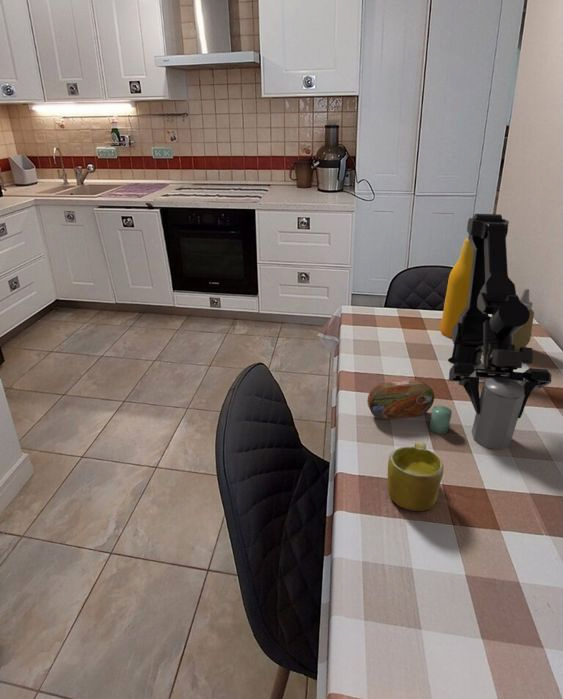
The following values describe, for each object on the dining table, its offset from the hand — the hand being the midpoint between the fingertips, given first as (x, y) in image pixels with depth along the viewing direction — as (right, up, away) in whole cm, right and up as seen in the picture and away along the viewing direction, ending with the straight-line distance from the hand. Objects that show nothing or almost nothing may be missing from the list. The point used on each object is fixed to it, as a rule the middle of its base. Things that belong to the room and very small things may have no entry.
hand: (498, 416), depth 96 cm
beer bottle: (+9, +18, +49) cm, 54 cm away
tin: (-17, -2, +12) cm, 21 cm away
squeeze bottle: (+23, +14, +41) cm, 48 cm away
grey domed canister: (0, -5, +4) cm, 7 cm away
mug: (-20, -13, -9) cm, 25 cm away
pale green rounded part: (-10, -4, +8) cm, 13 cm away
